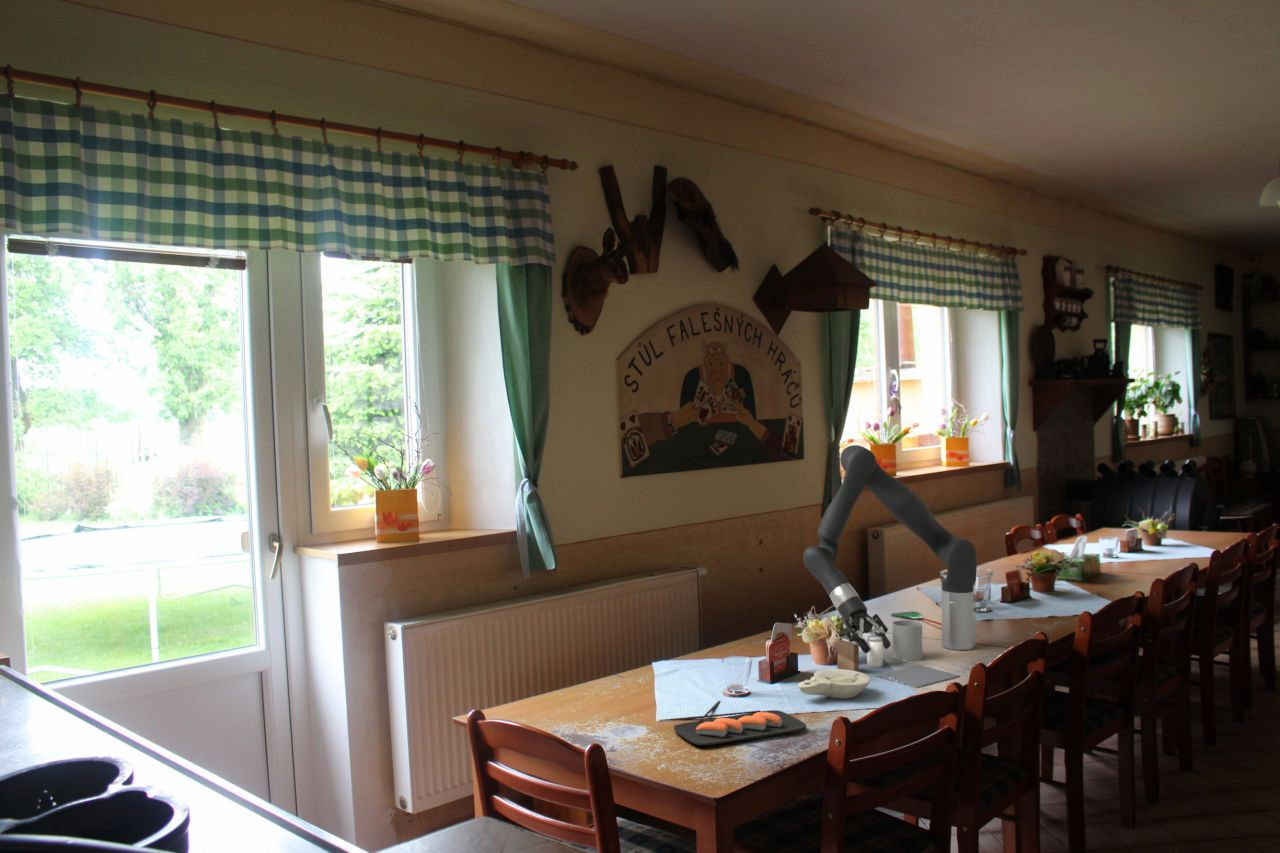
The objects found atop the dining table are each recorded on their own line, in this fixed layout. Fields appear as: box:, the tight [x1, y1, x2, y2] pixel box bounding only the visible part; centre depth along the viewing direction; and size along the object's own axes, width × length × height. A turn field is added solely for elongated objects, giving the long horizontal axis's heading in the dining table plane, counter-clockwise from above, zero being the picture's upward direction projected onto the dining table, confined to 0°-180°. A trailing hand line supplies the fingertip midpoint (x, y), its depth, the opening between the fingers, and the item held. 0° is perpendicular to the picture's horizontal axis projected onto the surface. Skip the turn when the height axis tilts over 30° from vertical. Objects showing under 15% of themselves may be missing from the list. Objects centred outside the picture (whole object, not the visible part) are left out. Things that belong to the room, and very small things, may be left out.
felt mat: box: [874, 664, 961, 688], centre depth 269 cm, size 18×14×1 cm
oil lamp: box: [797, 668, 871, 700], centre depth 251 cm, size 21×14×5 cm
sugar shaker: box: [866, 634, 884, 668], centre depth 281 cm, size 4×4×8 cm
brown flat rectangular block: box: [836, 639, 860, 672], centre depth 275 cm, size 2×6×8 cm, turn 35°
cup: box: [892, 619, 923, 662], centre depth 289 cm, size 8×8×10 cm
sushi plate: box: [658, 700, 807, 746], centre depth 232 cm, size 29×30×4 cm
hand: (878, 649), depth 280 cm, fingers open, 8 cm apart
